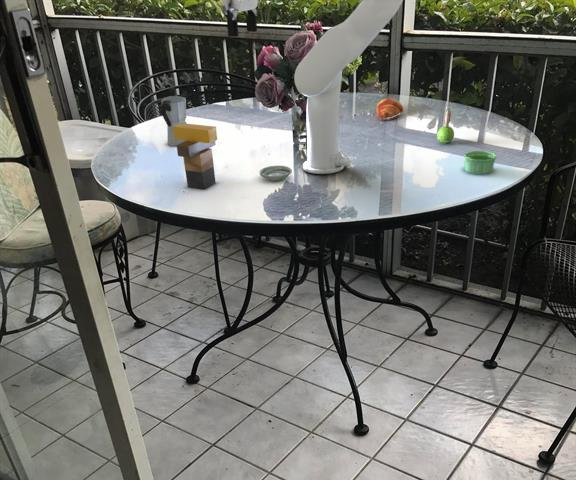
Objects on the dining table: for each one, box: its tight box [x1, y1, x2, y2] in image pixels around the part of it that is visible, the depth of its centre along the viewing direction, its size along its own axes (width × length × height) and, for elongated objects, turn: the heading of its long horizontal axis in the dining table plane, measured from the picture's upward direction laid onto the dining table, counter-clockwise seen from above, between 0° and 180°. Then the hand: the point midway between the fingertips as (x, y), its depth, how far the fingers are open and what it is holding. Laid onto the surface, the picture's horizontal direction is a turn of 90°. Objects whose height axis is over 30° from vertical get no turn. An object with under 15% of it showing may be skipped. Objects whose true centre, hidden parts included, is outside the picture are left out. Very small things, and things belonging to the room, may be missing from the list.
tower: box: [182, 147, 216, 190], centre depth 177 cm, size 6×6×10 cm
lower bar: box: [176, 141, 216, 158], centre depth 173 cm, size 13×4×3 cm, turn 152°
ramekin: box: [463, 150, 497, 175], centre depth 179 cm, size 9×9×4 cm
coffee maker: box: [160, 87, 188, 148], centre depth 211 cm, size 15×9×18 cm, turn 161°
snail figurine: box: [436, 106, 455, 145], centre depth 199 cm, size 5×6×12 cm
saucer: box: [258, 165, 293, 182], centre depth 181 cm, size 10×10×2 cm
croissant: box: [375, 97, 404, 121], centre depth 233 cm, size 21×10×8 cm, turn 159°
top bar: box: [173, 123, 218, 143], centre depth 171 cm, size 12×4×4 cm, turn 62°
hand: (242, 33), depth 175 cm, fingers open, 9 cm apart
